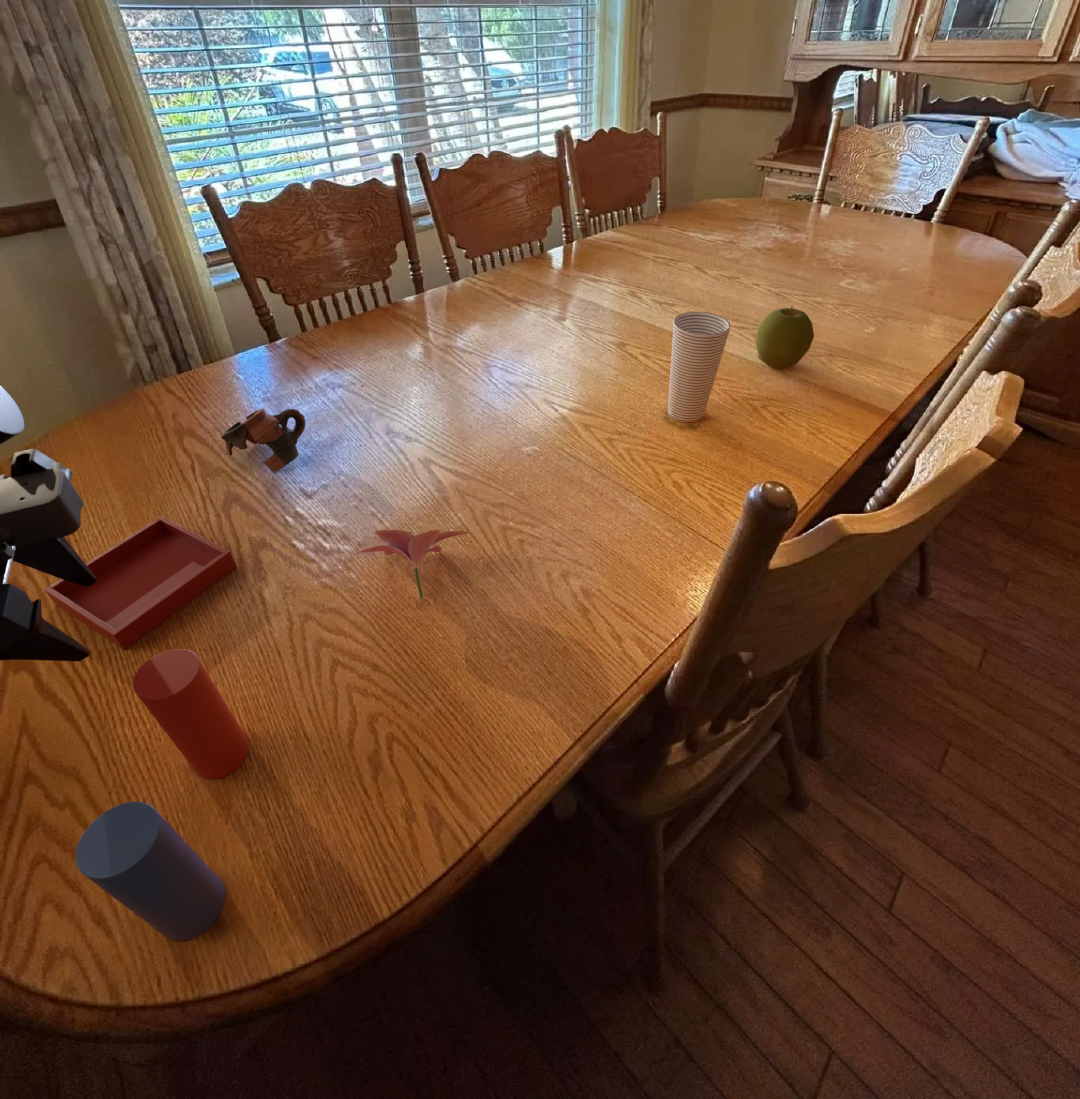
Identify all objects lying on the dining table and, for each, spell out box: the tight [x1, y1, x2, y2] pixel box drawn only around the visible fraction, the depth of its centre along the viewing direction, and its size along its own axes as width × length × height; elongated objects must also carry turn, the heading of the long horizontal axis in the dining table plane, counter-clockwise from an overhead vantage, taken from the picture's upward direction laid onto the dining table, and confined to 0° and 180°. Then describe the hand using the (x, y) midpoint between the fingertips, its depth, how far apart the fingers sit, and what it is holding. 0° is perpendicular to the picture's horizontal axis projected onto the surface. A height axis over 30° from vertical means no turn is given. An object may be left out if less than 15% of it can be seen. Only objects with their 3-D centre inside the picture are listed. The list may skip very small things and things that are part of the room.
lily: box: [357, 529, 471, 598], centre depth 75 cm, size 12×12×10 cm
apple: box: [754, 305, 815, 369], centre depth 115 cm, size 10×10×11 cm
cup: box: [667, 311, 731, 423], centre depth 100 cm, size 8×8×16 cm
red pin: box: [132, 648, 250, 780], centre depth 56 cm, size 5×5×13 cm
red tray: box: [43, 515, 238, 651], centre depth 75 cm, size 15×13×3 cm
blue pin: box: [75, 801, 226, 942], centre depth 46 cm, size 5×5×13 cm
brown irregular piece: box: [220, 408, 306, 474], centre depth 95 cm, size 12×10×8 cm
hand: (89, 618), depth 55 cm, fingers open, 9 cm apart
